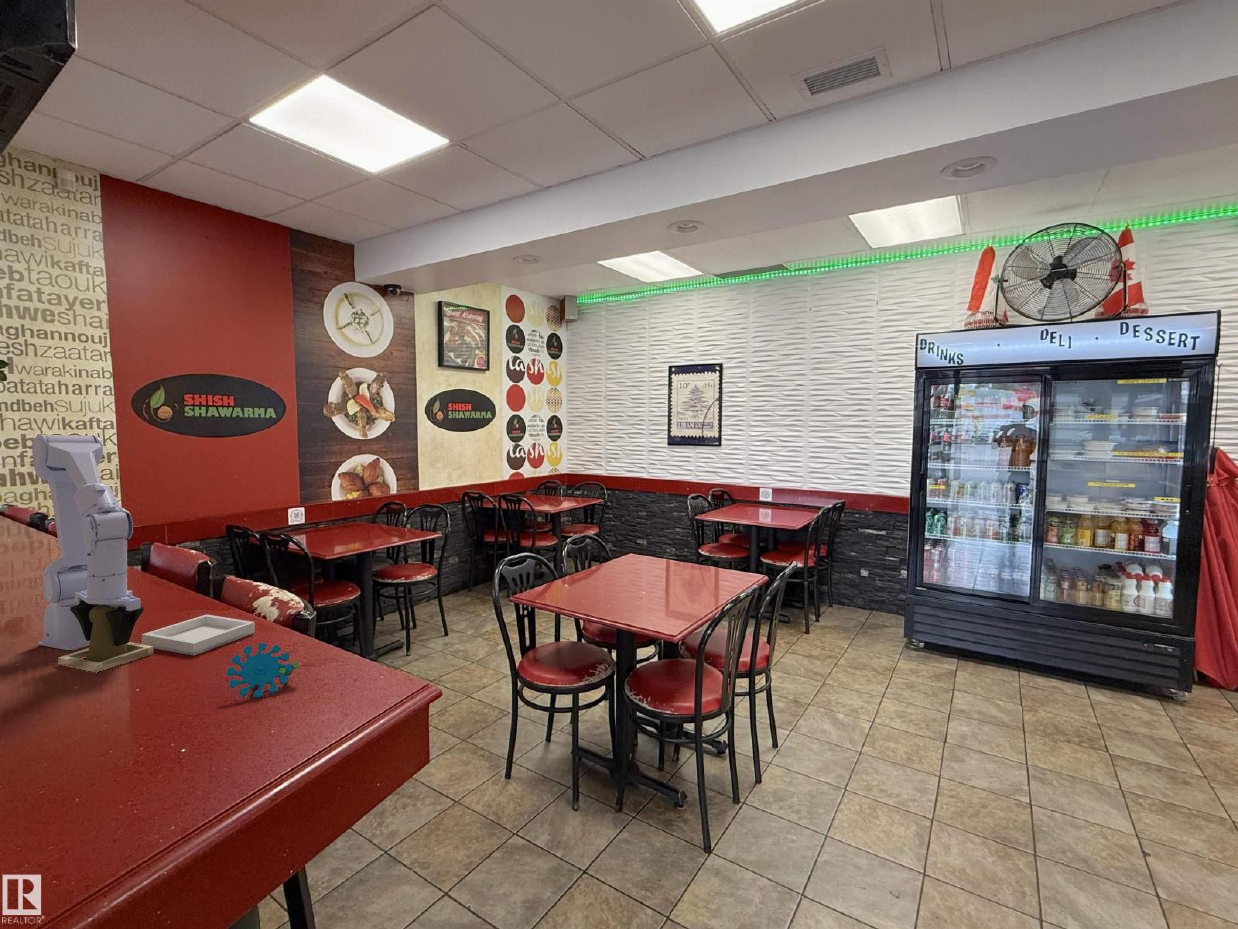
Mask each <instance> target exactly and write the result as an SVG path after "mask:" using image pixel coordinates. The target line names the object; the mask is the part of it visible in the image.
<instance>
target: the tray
mask: <svg viewBox="0 0 1238 929" xmlns="http://www.w3.org/2000/svg"><path fill="white" fill-rule="evenodd" d="M255 623H256V621H250V620H244V619H238V618H232V617H225V616H224V617H223V616H218V615H212V614H204V615H200V616H197V617H194V618H190V619H188V620H183V621H180V622H178V623H175V624H171V625H167V626H164V627H161V628H159V629H155V630H151V631H148V632H145V633H142V634H141V644H143V645H148V646H154V649H155V650H161V651H167V652H173V653H178V654H184V655H190V656H193V657H194V656H196V655H200V654H202V653H205V652H207V651H210V650H213V649H216V648H218V647H221V646H224V645H226V644H229V643H231V642H234V641H238V640H239V639H242V638H245V637H247V636H250V635H253V634H255V632H256V630H255V629H256V628H255V625H256V624H255Z"/></svg>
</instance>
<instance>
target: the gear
mask: <svg viewBox="0 0 1238 929" xmlns="http://www.w3.org/2000/svg"><path fill="white" fill-rule="evenodd" d="M267 647H268V644H267V643H265V642H260V643H258V646H257V652H256V653H255V655H251V653H252V650H253V646H249V645H248V646H246V647H244V648H243V650H242V653H243V654H244V655H245V658H246V661H244V662H242V660H241V659H242V658H241V656H240V654H236V655H234V656H233V657H232V658H231V660H230V662H231V663H232V664H233V665H234V664H235V665H237V666H239V668H240V669H241V670H239V671H238V670H236V668H235V667H233V666H229V667H228V668H227V670H226V674H225V675H226V677H232V676H236V677H240V678H242V679H240V680H238V679H236V678H232V679H230V680H229V682H228V686H229V688H230V689H235V688H236V687H238V686H241V685H245V684H246V685H247V684H248V686H246V687H241V688H240V689H239V690H238V695H240V696H241V697H242V698H244V697H245V696H247V695H248V693H249V692H250V690H252V689H253V688H255V687H259V688H258V689H257V690H255V691H254V692H253V696H252V697H253V698H255V699H261V698H262V697H261V696H263V690H264V687H265V686H266V685H268V684H269V685H270V686H269V689H268V691H267V692H268V694H269V695H272V694H275V693H277V692H278V689H279V688H278V686H277V685H276V683H275V678H279V684H281V685H285V684H286V683H287V682H288V681H289V679H290V678H289V677H290V676H291V675H292V673H293V672H294V671H295V670H296V671H297V669H298V668H299V666H300V662H299V661H294V662H293V663H286V664H285V663H284V664H283V663H280V662H279V660H281V661H283V662H287V661H289V659H290V654H289V652H284V653H283V654H280V655H277V656H274V655H273V656H272V654H278V653H279V652H280V651H281V649H282V648H281V647H280V646H279V645H278V644H274V645H273V646H272V648H271V649H270V650H269V651H268V652H266V653H262V652H263V651H265V650H266V649H267ZM274 692H275V693H274ZM260 697H261V698H260Z"/></svg>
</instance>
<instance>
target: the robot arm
mask: <svg viewBox="0 0 1238 929" xmlns="http://www.w3.org/2000/svg"><path fill="white" fill-rule="evenodd" d="M103 455H104V445H103V442H102V439H101V438H100V437H99V436H97V435H96V434H91V435H61V434H57V435H56V434H43V433H40V434H38V435H36V436H35V437H34V438H33V441H32V449H31V456H32V462H33V468H34V472H35V474H36V477H37V478H40V479H42V480H45V481H47V485H48V487H49V489H50V494H51V501H52V508H53V509H52V510H53V514H54V515H53V516H54V522H55V527H56V535H57V541H58V548H59V555H60V556H59V557H57V558H56V559H55V560H53V561H52V562H51V563H49V564H48V565H47V566H46V567H45V568H44V571H43V582H42V583H43V584H42V588H43V589H42V590H43V595H44V599H45V601H47V602H48V603H49V604H48V606H47V607H46V608H45V611H44V613H43V641H39V642H38V645H39V646H43V647H48V648H54V649H60V650H63V651H68V650H72V651H75V650H78V649H82V648H85V647H89V644H90V638H91V632H92V627H93V623H92V622H91V621H90V618H89V613H90V611H91V610H92V608H93V607H95V606H97V605H108V606H111V607H117V610H113V611H109V612H105V615H106V617H107V618H108V620H109V622H110V625H111V628H112V634H113V642H114V645H115V646H120V645H123V644H127V643H129V642H130V640H131V637H132V633H133V631H134V628H135V625H136V623H137V622H138V619H139V618H140V616H141V615H142V613H144V610H145V607H144V606H141V604H142V602H141V598H140V597H139V598H138V597H136V596H134V595H133V594H134V593H133V590H128V540H130V539H131V537H132V536H133V533H134V521H133V518H132V515H131V513H130V511H128V510H126V509H125V507H120V504H119V503H118V500H117V499H116V495H115V494H114V492H113V489H112V488H111V487H110V486H109V485H106V484H105V483H104V484H103V483H102V479H101V476H100V473H99V469H98V467H99V465H100V462H101V461H102V458H103Z"/></svg>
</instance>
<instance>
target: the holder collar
mask: <svg viewBox="0 0 1238 929" xmlns="http://www.w3.org/2000/svg"><path fill="white" fill-rule="evenodd" d="M88 649H89V647H88V648H85V649H82V650H79V651H76V652H72V653H69V654H65V655H62V656H60V657H57V665H58V664H65V665H68V666H72V667H78V668H81V669H83V670H86V671H85V672H88V671H92V672H91V673H93V672H96V673H95V674H98V673H97V672H99V671H102V672H104V671H103V670H105V671H107V670H106V669H108V668H110V667H113V668H116V667H118V666H117V665H119V666H121V665H120V664H122V665H125V664H127V663H128V664H129V663H130V661H131V662H134V661H136V660H139V659H142V658H144V657H145V658H146V657H148V656H151V655H153V654H154V651H155V650H154V649H155V648H154V646H148V645H143V644H142V643H136V642H132V641H129V643H127V644H126V649H127V653H126V654H123V655H120V656H117V657H114V658H111V659H108V660H105V661H102V662H99V663H98V662H93V661H88V660H87V659H80V658H82V657H87V655H88ZM141 657H142V658H141ZM115 666H116V667H115ZM83 670H82V671H83ZM108 670H109V669H108ZM99 673H100V672H99Z"/></svg>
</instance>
